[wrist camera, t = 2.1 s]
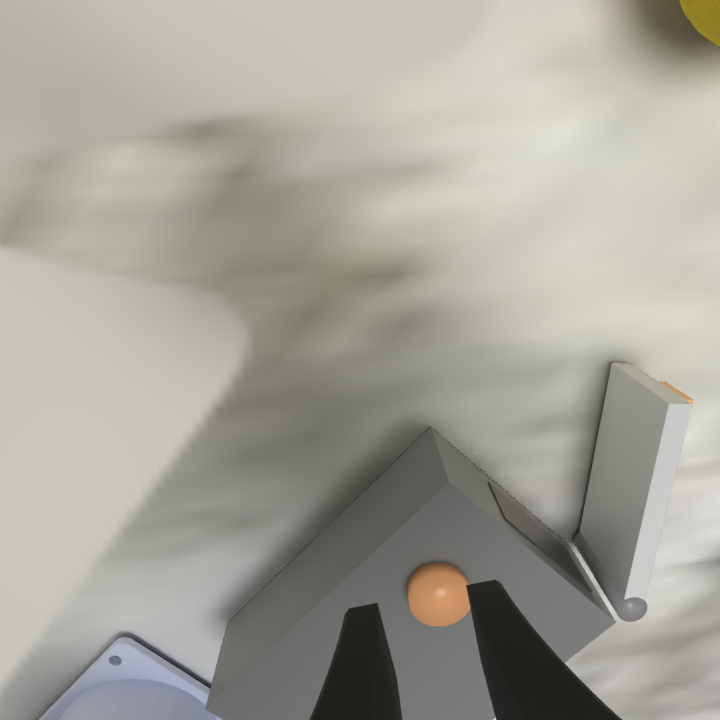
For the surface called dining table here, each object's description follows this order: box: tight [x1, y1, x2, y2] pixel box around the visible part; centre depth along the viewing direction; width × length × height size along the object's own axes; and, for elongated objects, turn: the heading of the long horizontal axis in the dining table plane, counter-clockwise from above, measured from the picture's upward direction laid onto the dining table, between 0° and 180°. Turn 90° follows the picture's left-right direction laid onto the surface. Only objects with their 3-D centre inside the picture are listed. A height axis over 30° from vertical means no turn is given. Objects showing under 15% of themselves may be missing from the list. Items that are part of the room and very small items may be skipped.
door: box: [574, 363, 693, 622], centre depth 20 cm, size 2×8×4 cm, turn 177°
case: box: [205, 427, 616, 720], centre depth 21 cm, size 12×9×5 cm
